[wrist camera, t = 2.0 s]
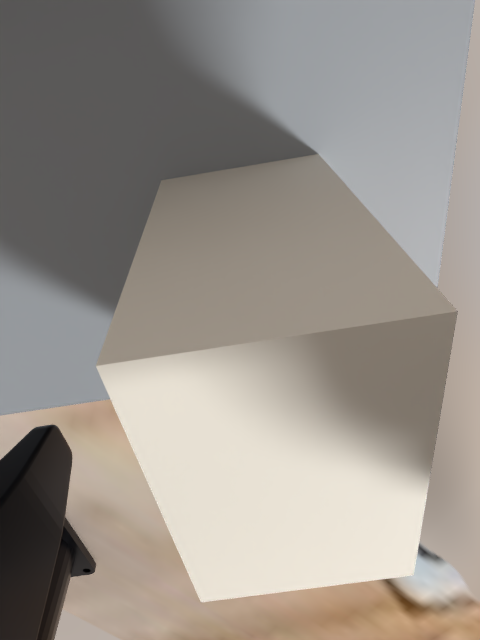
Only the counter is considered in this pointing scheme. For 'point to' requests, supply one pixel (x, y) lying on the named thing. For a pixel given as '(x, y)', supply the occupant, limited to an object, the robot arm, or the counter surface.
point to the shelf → (198, 141)
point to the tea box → (279, 379)
